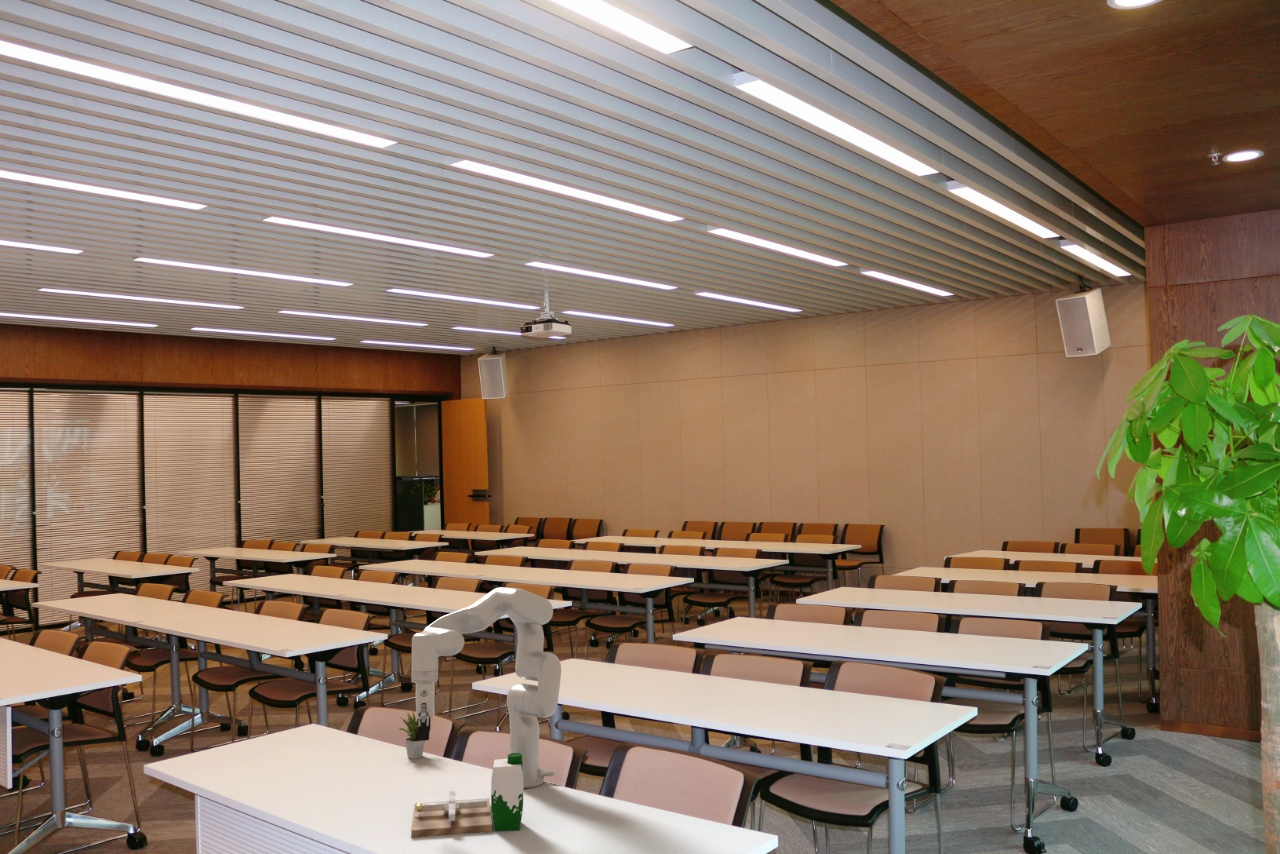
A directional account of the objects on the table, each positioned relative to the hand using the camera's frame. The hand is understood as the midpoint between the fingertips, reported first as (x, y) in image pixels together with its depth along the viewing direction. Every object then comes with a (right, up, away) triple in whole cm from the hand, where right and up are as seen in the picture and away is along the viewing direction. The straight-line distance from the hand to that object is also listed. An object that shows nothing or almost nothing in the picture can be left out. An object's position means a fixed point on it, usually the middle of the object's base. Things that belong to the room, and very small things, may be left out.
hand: (424, 735), depth 276 cm
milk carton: (+25, -25, -5) cm, 35 cm away
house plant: (-17, -28, +62) cm, 70 cm away
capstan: (+8, -23, 0) cm, 24 cm away
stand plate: (+8, -25, 0) cm, 26 cm away
